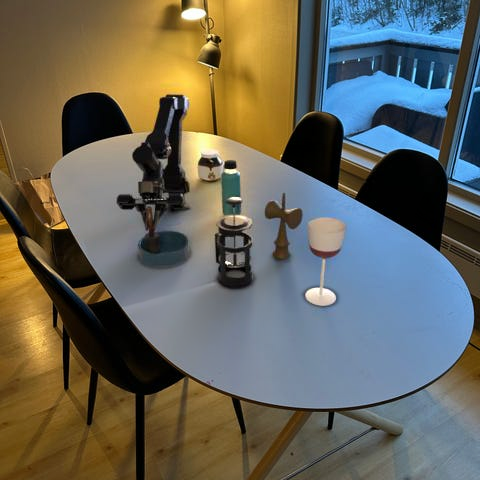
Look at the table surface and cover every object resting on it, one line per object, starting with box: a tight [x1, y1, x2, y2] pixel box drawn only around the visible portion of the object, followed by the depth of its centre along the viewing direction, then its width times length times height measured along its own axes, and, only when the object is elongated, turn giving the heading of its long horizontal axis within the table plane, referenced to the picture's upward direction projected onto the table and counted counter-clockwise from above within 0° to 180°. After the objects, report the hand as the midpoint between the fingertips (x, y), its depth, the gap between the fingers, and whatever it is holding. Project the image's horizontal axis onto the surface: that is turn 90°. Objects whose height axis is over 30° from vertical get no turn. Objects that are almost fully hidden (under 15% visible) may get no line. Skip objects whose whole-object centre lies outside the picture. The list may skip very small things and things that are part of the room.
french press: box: [214, 197, 254, 290], centre depth 114 cm, size 12×9×23 cm
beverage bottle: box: [220, 159, 242, 216], centre depth 147 cm, size 6×7×20 cm
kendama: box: [264, 192, 304, 261], centre depth 124 cm, size 6×10×20 cm, turn 46°
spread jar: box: [197, 149, 228, 183], centre depth 183 cm, size 12×11×12 cm
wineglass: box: [305, 217, 347, 307], centre depth 107 cm, size 8×9×20 cm
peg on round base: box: [144, 205, 160, 254], centre depth 127 cm, size 4×4×14 cm
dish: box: [137, 230, 190, 267], centre depth 129 cm, size 14×14×4 cm
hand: (150, 230), depth 125 cm, fingers closed on peg on round base, 2 cm apart
